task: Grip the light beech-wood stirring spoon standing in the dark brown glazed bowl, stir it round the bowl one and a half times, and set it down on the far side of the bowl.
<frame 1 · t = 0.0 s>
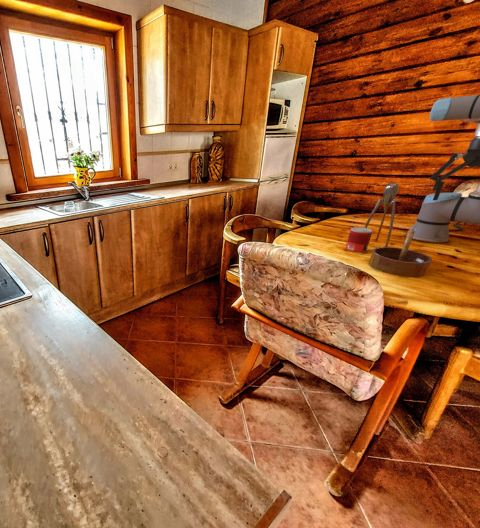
hand: (461, 202, 99), 28 cm above the table, tool pointing down, fingers open, 13 cm apart
canned food: (355, 251, 133), on the table
bowl: (395, 269, 114), on the table
wooden spoon: (399, 265, 116), point 1 cm above the table, touching bowl
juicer: (370, 243, 141), on the table
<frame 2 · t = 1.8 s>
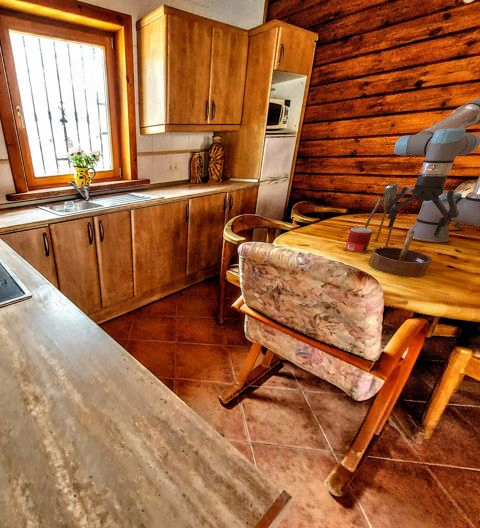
hand: (411, 230, 110), 16 cm above the table, tool pointing down, fingers open, 13 cm apart
nothing on the table moved.
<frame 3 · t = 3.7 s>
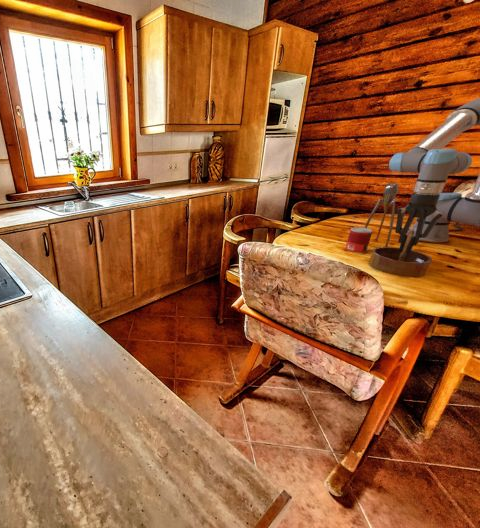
hand: (404, 251, 113), 7 cm above the table, tool pointing down, fingers closed on wooden spoon, 2 cm apart
wooden spoon: (399, 265, 116), point 1 cm above the table, touching gripper
everything else where it was.
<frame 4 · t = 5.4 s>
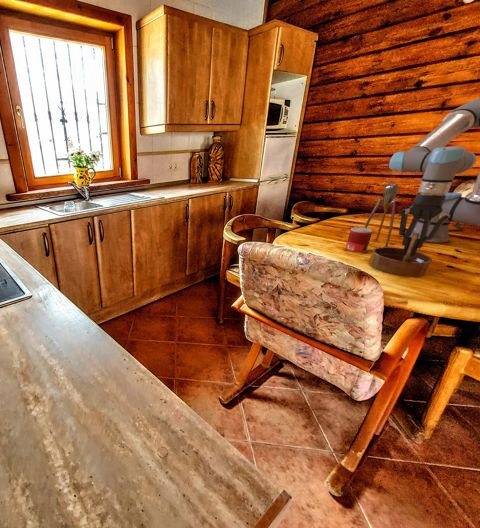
hand: (408, 254, 108), 8 cm above the table, tool pointing down, fingers closed on wooden spoon, 2 cm apart
wooden spoon: (402, 268, 111), point 2 cm above the table, touching gripper
everything else where it was.
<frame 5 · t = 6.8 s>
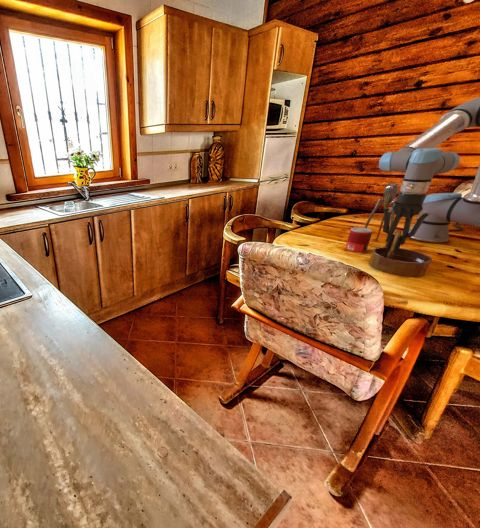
hand: (391, 250, 113), 7 cm above the table, tool pointing down, fingers closed on wooden spoon, 2 cm apart
wooden spoon: (387, 264, 116), point 1 cm above the table, touching gripper
everything else where it was.
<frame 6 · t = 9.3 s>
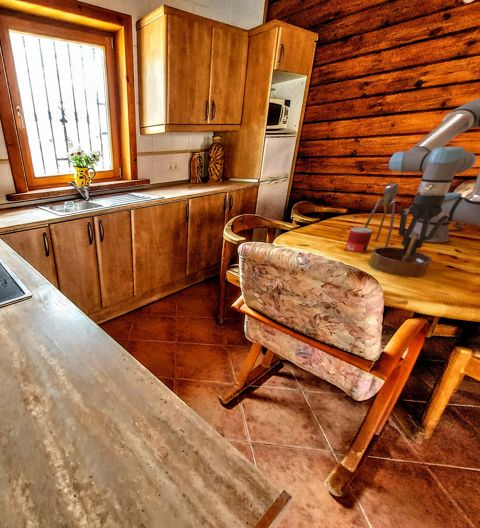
hand: (407, 254, 108), 8 cm above the table, tool pointing down, fingers closed on wooden spoon, 2 cm apart
wooden spoon: (402, 268, 111), point 2 cm above the table, touching gripper
everything else where it was.
when the fingers open (7 cm above the table, at t = 10.3 s): wooden spoon stays where it is, resting on bowl.
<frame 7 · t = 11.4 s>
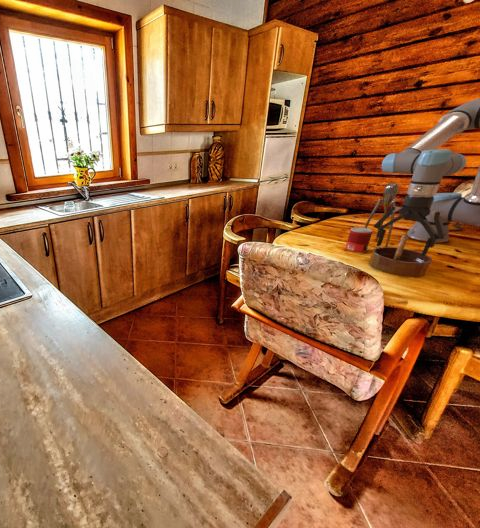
hand: (400, 249, 109), 9 cm above the table, tool pointing down, fingers open, 13 cm apart
wooden spoon: (392, 269, 112), point 1 cm above the table, touching bowl
everything else where it was.
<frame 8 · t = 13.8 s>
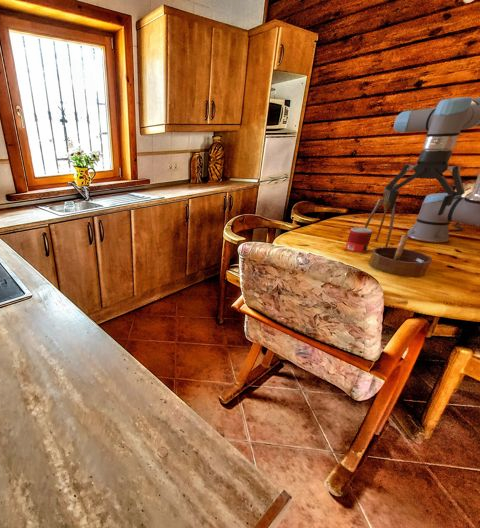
hand: (414, 211, 103), 25 cm above the table, tool pointing down, fingers open, 13 cm apart
nothing on the table moved.
at the end: wooden spoon inside the target area in the bowl (3.6 cm from its centre), point 0.8 cm above the bowl's base; wooden spoon moved 7.1 cm from its start; the gripper is holding nothing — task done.
